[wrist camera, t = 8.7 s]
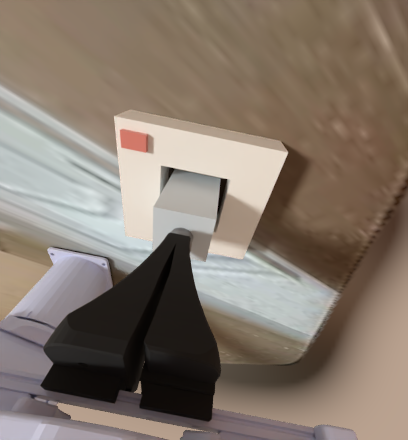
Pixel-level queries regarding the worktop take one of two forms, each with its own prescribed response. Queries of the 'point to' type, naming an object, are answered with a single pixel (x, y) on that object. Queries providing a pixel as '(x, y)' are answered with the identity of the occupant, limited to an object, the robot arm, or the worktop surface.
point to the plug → (187, 211)
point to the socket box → (199, 163)
